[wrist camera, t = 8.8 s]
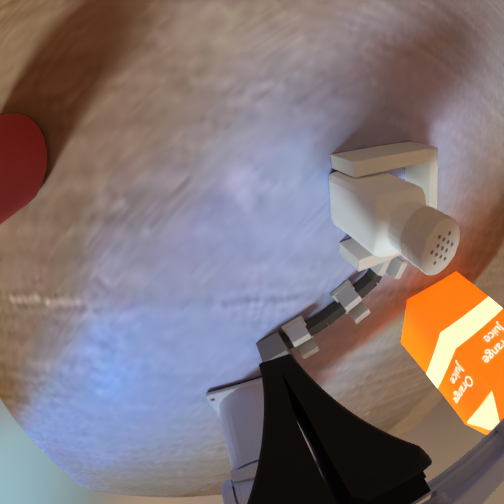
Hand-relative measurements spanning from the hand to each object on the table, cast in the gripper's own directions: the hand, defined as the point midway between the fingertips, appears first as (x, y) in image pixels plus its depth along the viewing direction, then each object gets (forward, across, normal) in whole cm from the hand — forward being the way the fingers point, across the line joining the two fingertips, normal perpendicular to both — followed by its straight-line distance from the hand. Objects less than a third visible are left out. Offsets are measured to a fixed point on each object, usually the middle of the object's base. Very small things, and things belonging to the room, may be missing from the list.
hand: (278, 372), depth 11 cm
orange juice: (+11, -21, +14) cm, 28 cm away
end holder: (+10, -12, -2) cm, 16 cm away
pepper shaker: (+10, -10, -3) cm, 14 cm away
